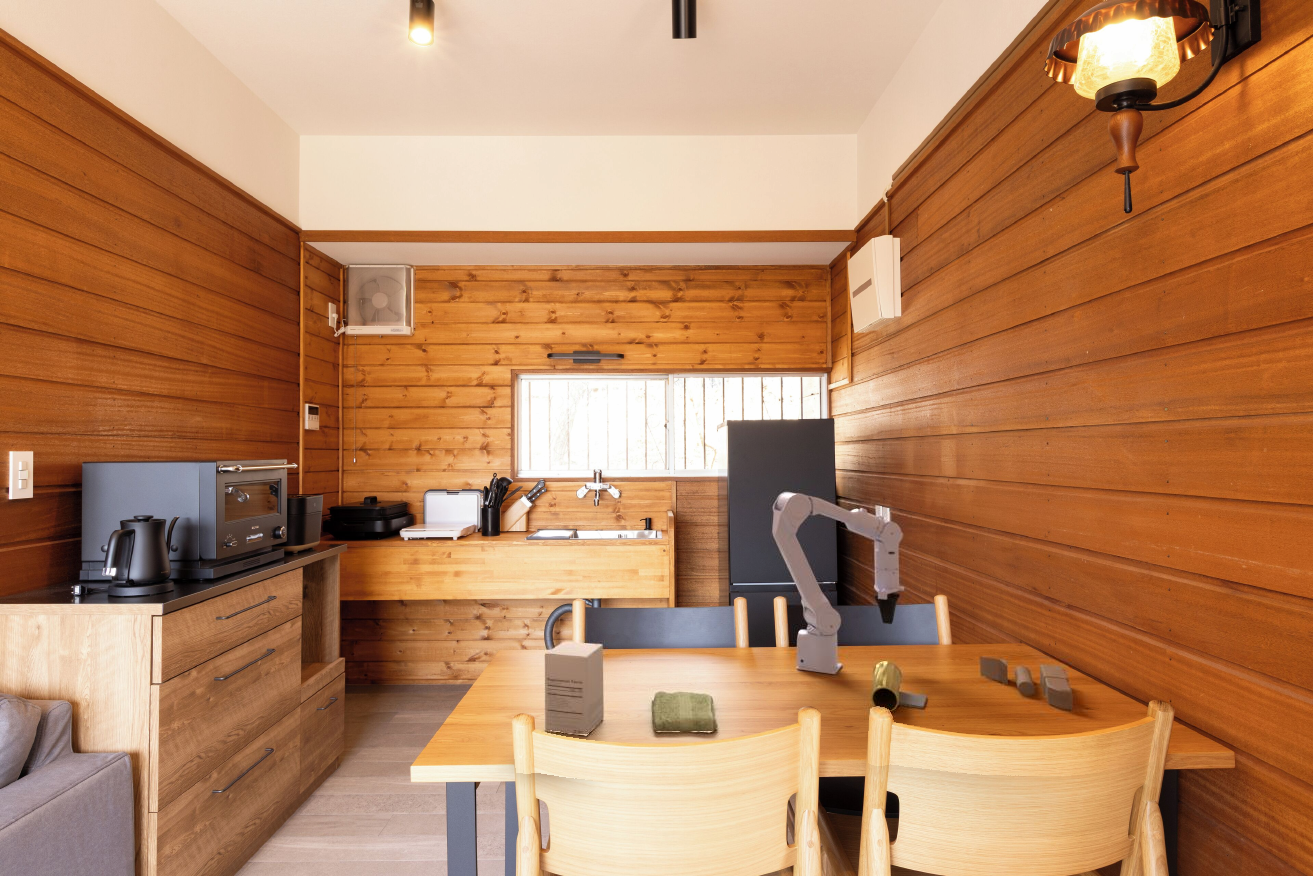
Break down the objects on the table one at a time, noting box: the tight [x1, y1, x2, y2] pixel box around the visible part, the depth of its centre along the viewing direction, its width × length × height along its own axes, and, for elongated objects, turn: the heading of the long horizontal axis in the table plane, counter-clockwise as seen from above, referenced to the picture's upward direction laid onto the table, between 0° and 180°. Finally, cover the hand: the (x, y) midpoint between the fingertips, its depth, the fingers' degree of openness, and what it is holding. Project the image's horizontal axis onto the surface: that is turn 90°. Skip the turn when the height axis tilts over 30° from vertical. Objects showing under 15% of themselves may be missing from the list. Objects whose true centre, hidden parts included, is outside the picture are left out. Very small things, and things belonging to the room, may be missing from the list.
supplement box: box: [544, 641, 605, 735], centre depth 128 cm, size 9×9×15 cm
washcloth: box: [651, 690, 719, 732], centre depth 132 cm, size 13×18×3 cm
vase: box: [870, 660, 903, 712], centre depth 140 cm, size 6×6×14 cm
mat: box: [897, 690, 928, 710], centre depth 141 cm, size 10×7×1 cm
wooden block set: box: [979, 656, 1074, 711], centre depth 145 cm, size 17×6×18 cm
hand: (887, 623), depth 165 cm, fingers closed
